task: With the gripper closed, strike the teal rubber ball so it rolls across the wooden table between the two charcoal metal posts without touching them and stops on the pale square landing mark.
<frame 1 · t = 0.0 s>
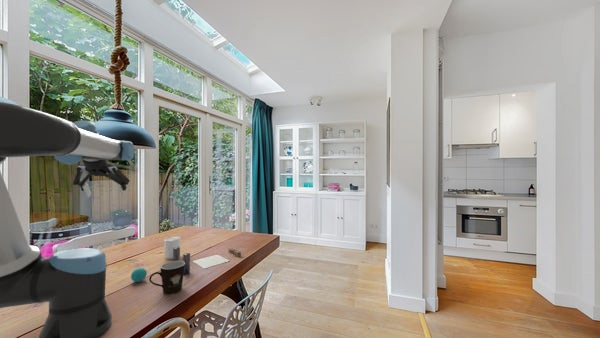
hand: (107, 195, 108), 36 cm above the table, tool tilted 35°, fingers open, 13 cm apart
far post: (176, 266, 115), on the table
landing mark: (211, 261, 121), on the table
ball: (139, 274, 98), on the table
near post: (186, 273, 106), on the table
white cup: (172, 257, 128), on the table
coffee mug: (168, 291, 90), on the table
stopper wall: (234, 254, 132), on the table
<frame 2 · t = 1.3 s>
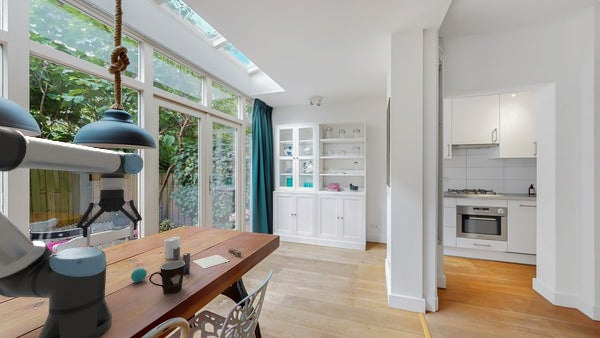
hand: (111, 241, 92), 19 cm above the table, tool pointing down, fingers open, 13 cm apart
nothing on the table moved.
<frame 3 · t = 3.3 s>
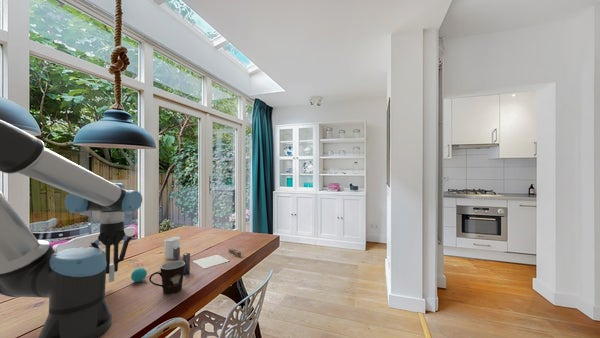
hand: (111, 280, 92), 3 cm above the table, tool pointing down, fingers closed
nothing on the table moved.
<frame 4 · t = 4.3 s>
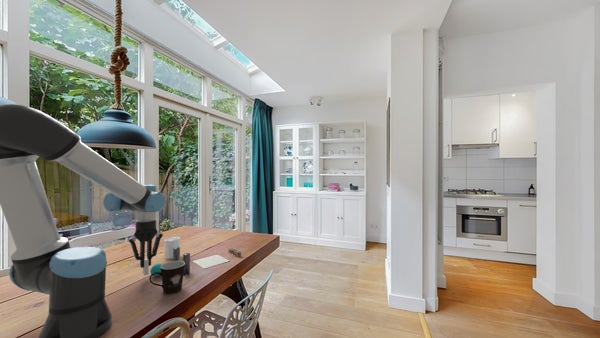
hand: (145, 273, 100), 2 cm above the table, tool pointing down, fingers closed
ball: (157, 269, 104), on the table
everything else where it was.
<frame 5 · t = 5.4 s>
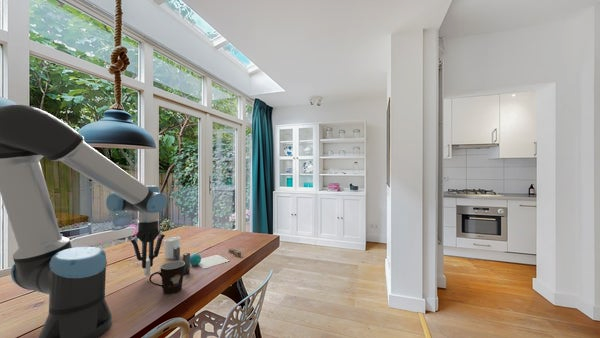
hand: (147, 274, 100), 2 cm above the table, tool pointing down, fingers closed
ball: (195, 259, 116), on the table
everything else where it was.
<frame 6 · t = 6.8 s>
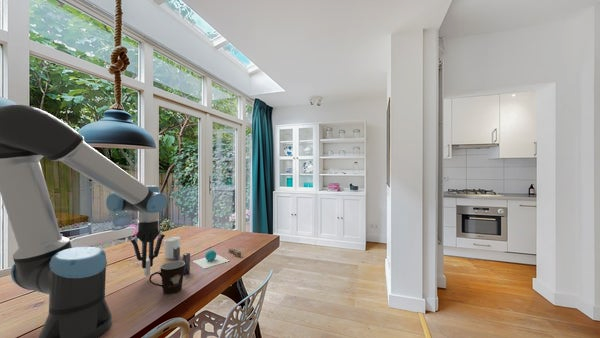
hand: (147, 274, 100), 2 cm above the table, tool pointing down, fingers closed
ball: (210, 255, 122), on the table
everything else where it was.
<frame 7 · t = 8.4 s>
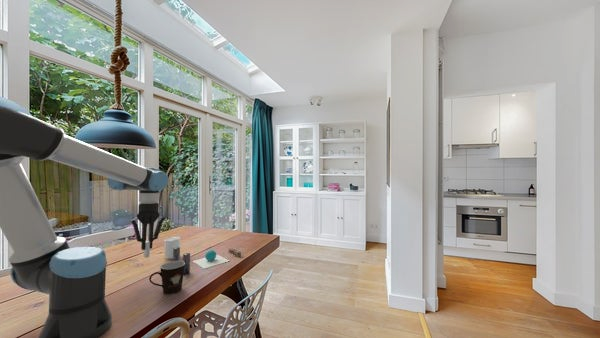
hand: (146, 256, 100), 10 cm above the table, tool pointing down, fingers closed
nothing on the table moved.
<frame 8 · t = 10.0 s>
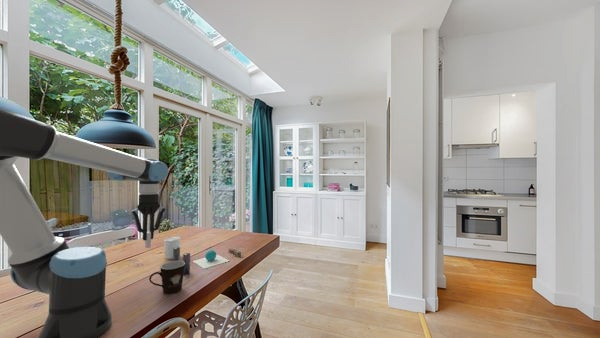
hand: (147, 247, 101), 14 cm above the table, tool pointing down, fingers closed
nothing on the table moved.
at the end: ball 1.2 cm from the landing mark (horizontally); ball never touched near post; ball never touched far post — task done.
